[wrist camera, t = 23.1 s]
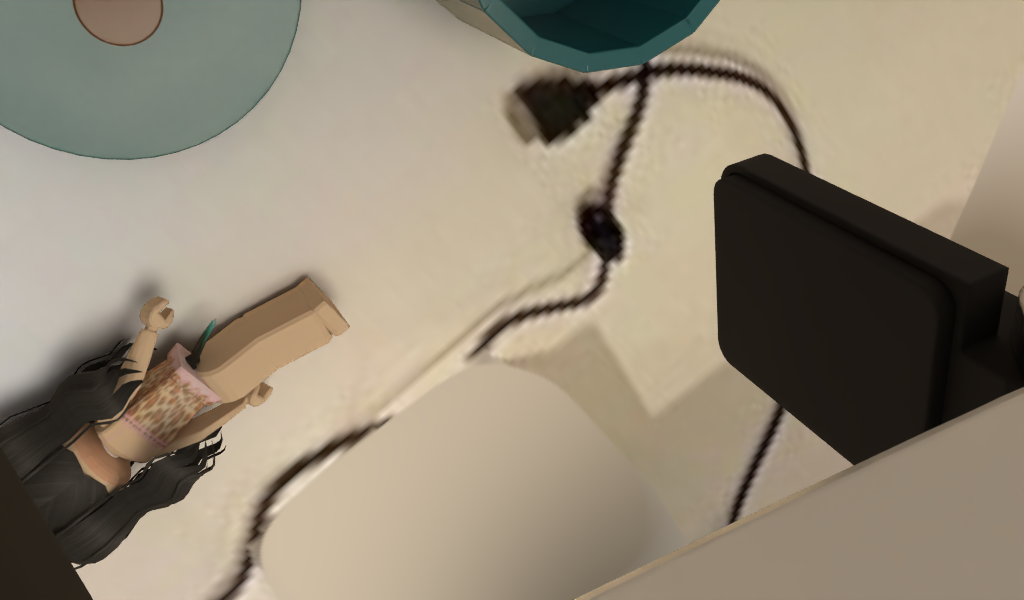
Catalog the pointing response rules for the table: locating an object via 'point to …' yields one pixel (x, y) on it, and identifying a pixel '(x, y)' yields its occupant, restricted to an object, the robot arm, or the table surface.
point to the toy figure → (153, 418)
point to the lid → (137, 70)
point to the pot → (585, 28)
